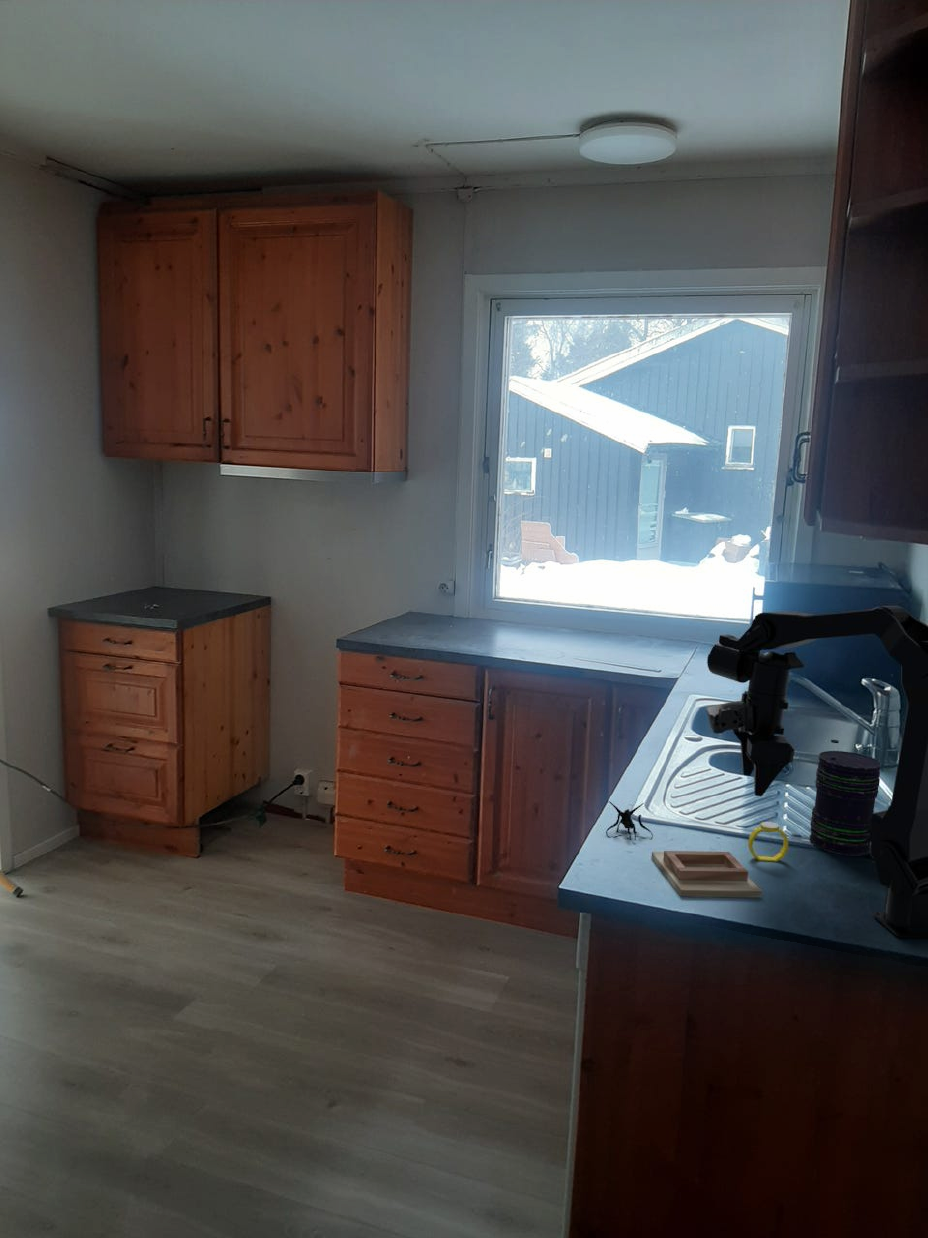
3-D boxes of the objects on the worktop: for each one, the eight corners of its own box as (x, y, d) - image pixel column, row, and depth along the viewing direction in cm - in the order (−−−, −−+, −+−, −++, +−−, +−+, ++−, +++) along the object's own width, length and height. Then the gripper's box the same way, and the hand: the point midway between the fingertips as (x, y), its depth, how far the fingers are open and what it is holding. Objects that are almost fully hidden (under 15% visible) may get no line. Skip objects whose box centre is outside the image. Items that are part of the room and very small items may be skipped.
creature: (655, 850, 154) (645, 823, 162) (659, 822, 152) (649, 796, 160) (608, 848, 154) (600, 821, 161) (612, 820, 152) (604, 794, 159)
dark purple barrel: (855, 835, 163) (868, 735, 161) (881, 857, 154) (895, 751, 151) (799, 832, 163) (810, 732, 161) (822, 854, 153) (834, 748, 151)
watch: (751, 864, 149) (752, 828, 148) (746, 857, 151) (747, 821, 150) (789, 863, 148) (790, 827, 148) (783, 857, 151) (784, 821, 150)
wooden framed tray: (760, 897, 135) (762, 881, 135) (680, 896, 134) (682, 880, 134) (724, 858, 149) (726, 844, 149) (651, 857, 148) (652, 842, 147)
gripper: (705, 671, 156) (693, 760, 159) (725, 700, 138) (710, 800, 141) (773, 678, 155) (759, 768, 158) (802, 709, 137) (785, 809, 140)
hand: (752, 785), depth 149 cm, fingers open, 9 cm apart
